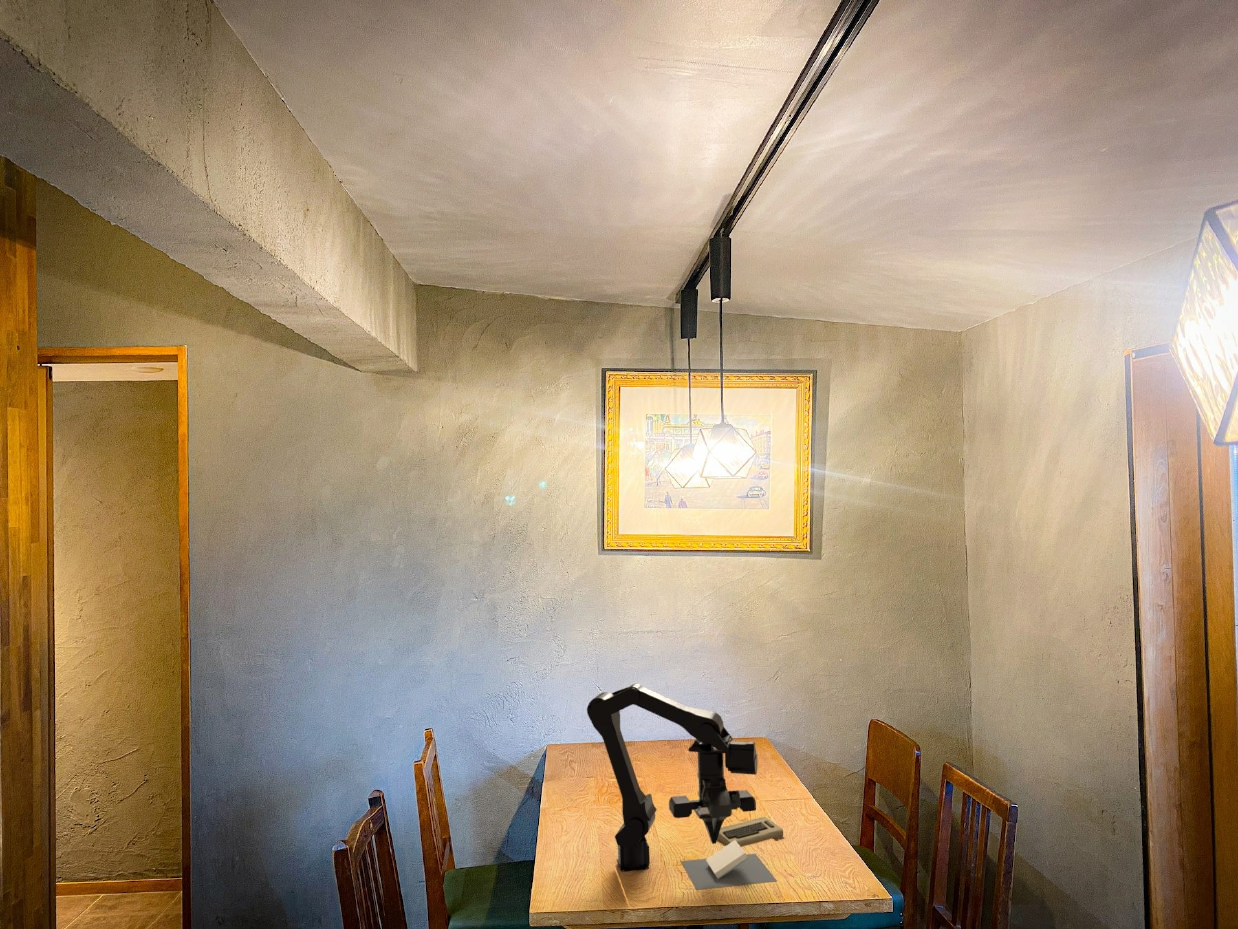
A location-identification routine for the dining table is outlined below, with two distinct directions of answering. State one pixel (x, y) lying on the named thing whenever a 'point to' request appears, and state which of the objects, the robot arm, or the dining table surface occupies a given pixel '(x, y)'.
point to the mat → (740, 875)
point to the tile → (726, 859)
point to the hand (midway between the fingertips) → (713, 843)
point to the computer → (750, 831)
